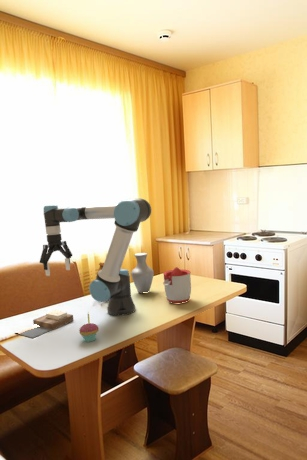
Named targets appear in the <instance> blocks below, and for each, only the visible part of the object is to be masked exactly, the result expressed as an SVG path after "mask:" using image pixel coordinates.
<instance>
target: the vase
mask: <svg viewBox="0 0 307 460" xmlns="http://www.w3.org/2000/svg"><path fill="white" fill-rule="evenodd" d="M147 256H148V253H147V252H138V253H135V254H134V257H135V259H136V266H135V267H134V268H133V269H132V270H131V272H130V277H131V279H132V281H133V285H134V286H135V288H136V290H137V292H140V293H143V292H148V291H149V292H150V289H151V287H152V283H153V278H154V273H155V272H154V269H152V267H150V266H149V265H148V264H147Z"/></svg>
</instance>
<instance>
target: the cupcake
mask: <svg viewBox="0 0 307 460" xmlns="http://www.w3.org/2000/svg"><path fill="white" fill-rule="evenodd" d="M99 331H100V328H99V326H98V325H97V324H96V323H92V322H91V321H90V313H89V312H87V323H86V324H85V323H84V324H83V325H82V326H80V328H79V334H80V335H81V337H82V338H83V340H84V341H85V342H87V343H88V342H89V343H90V342H93V341H95V339H96V337H97V333H98V332H99Z"/></svg>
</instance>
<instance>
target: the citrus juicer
mask: <svg viewBox="0 0 307 460" xmlns="http://www.w3.org/2000/svg"><path fill="white" fill-rule="evenodd" d="M162 274H163V285H164V293H165V296H166V298H167V299H166V300H167V301H168V303H169V302H172V303H182V302H186V301H188V300H189V301H190V300H191V299H190V298H191V294H192V293H191V292H192V282H191V279H192V278H191V270H188V269H180V267H179V268H178V266H177V267H174V269H169V270H166V271H164V272H163V273H162ZM189 301H188V302H189ZM172 303H171V304H172ZM186 303H187V302H186ZM182 304H183V303H182Z"/></svg>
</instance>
